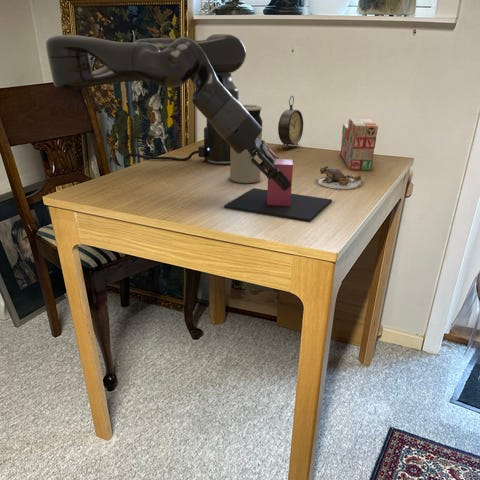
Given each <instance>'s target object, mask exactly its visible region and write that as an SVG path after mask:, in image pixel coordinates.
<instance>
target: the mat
mask: <svg viewBox="0 0 480 480" xmlns="http://www.w3.org/2000/svg"><path fill="white" fill-rule="evenodd" d="M267 190H268V189H264V188H263V189H262V188H256V187H253V188H251V189H249V190H248V191H246V192H244V193H243V194H241V195H239V196H237V197H236V198H235V199H232V200H231V201H229V202H227V203H226V204H224V206H223V207H224V209H228V210H234V211H240V212H245V213H252V214H259V215H264V216H271V217H275V218H276V217H277V218H281V219H283V218H284V219H288V220H289V219H290V220H296V221H301V222H307V223H310V222H312V220H314V219H315V218H316V217H317V216H318V215H319V214H320V213H322V211H323V210H325V209H326V208H327V207H328V206H329V205H331V203H332V202H333V200H332V198H325V197H317V196H311V195H305V194H297V193H291V201H290V206H278V205H267Z"/></svg>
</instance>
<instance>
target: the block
mask: <svg viewBox="0 0 480 480" xmlns="http://www.w3.org/2000/svg"><path fill="white" fill-rule="evenodd" d="M275 165H276V166H277V167H278V168H279V169H280V171H281V172H282V173H283V175H284V176H285V177H286V178H287V179H288V180H289V181H290V182H291V186H290V187H289V188H288V189H287V190H285V191H283V190H282V189H281V187H280V186H279V185H278V184H277V183H276V182H275V181H274V180H273V179H269V178H267V189H266V190H267V205H278V206H290V201H291V194H292V185H293V170H294V159H288V158H279V159H275ZM271 170H272V168H271V167H269V168H268V171H269V172H270V171H271Z"/></svg>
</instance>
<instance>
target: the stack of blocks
mask: <svg viewBox="0 0 480 480" xmlns="http://www.w3.org/2000/svg"><path fill="white" fill-rule="evenodd" d="M378 129H379V126H378V125H377V123H376V122H375V121H373V120H372V119H370V118H352V117H351V118H348V123H343V124H342V130H341V142H340V143H341V145H340V155H341V158H342V159H343V160H344V162H345V163H346V166H347V168H348V169H349V171H372V167H373V162H374V154H375V148H376V144H377V143H376V142H377V135H378Z"/></svg>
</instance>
